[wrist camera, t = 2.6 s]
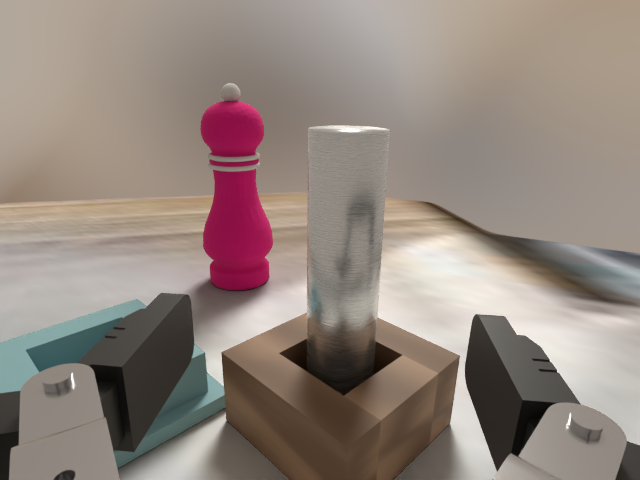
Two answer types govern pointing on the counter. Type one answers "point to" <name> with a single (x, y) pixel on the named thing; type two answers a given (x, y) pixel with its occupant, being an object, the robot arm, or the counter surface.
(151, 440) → the socket
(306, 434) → the bore block
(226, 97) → the pepper mill
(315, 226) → the axle
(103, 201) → the counter surface
